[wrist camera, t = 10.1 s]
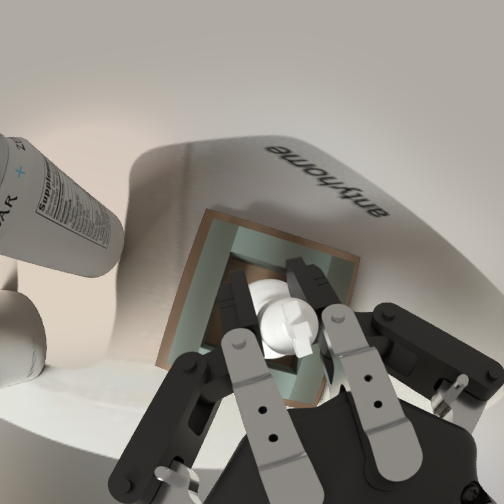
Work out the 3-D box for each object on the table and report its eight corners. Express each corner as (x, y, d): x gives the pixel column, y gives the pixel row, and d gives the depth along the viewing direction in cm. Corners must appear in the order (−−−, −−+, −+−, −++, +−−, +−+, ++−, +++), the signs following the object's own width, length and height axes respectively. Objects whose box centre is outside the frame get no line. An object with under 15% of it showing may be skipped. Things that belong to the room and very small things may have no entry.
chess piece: (242, 367, 17) (241, 434, 7) (219, 292, 18) (189, 270, 8) (317, 343, 17) (397, 376, 7) (295, 269, 18) (353, 222, 8)
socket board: (158, 363, 21) (142, 373, 17) (207, 212, 24) (201, 194, 20) (311, 407, 21) (325, 425, 17) (355, 259, 23) (376, 250, 19)
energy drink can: (65, 229, 23) (-50, 164, 8) (117, 200, 23) (18, 100, 9) (81, 289, 22) (-54, 262, 7) (137, 261, 23) (16, 198, 8)
